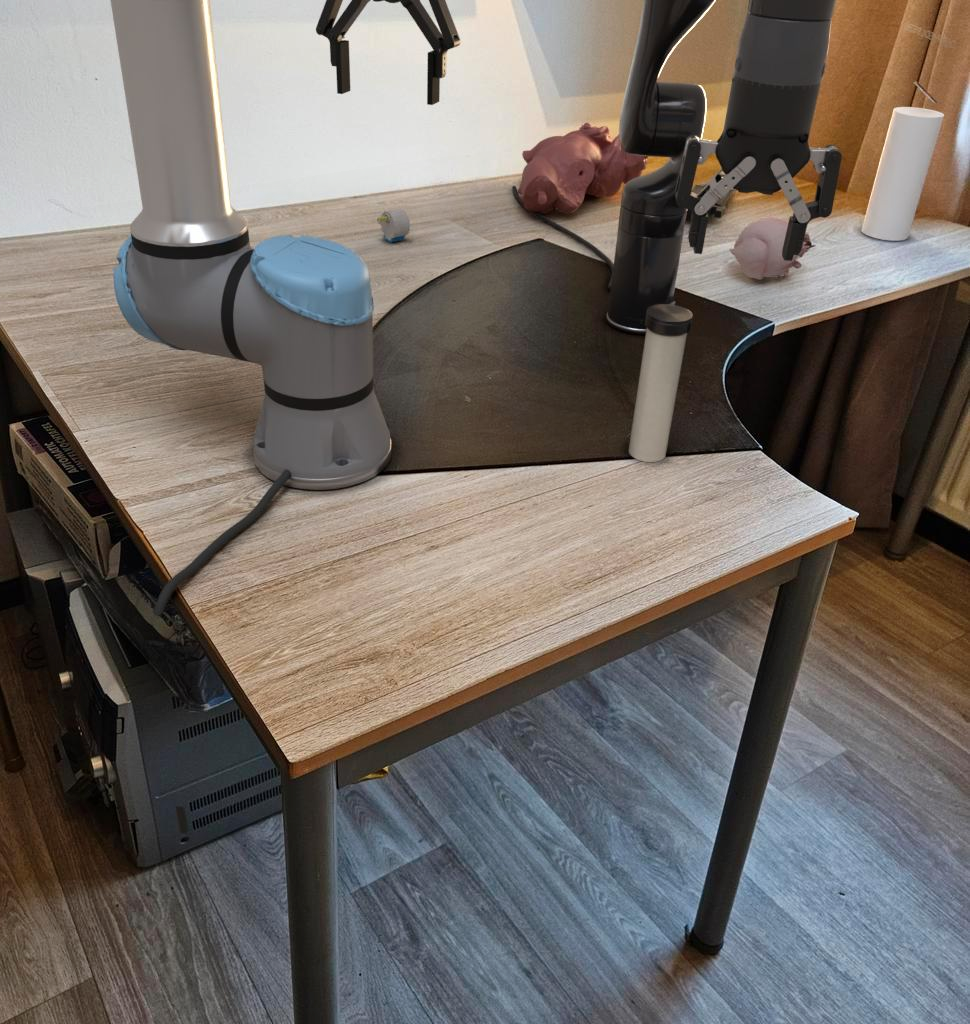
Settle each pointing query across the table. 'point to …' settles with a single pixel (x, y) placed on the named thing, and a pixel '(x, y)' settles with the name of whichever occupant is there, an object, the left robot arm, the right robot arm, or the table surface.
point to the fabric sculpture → (576, 169)
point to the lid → (668, 319)
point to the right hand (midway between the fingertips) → (741, 254)
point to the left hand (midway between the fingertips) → (388, 97)
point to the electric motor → (394, 225)
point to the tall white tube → (902, 168)
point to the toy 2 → (766, 249)
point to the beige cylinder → (656, 395)
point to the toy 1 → (717, 208)
